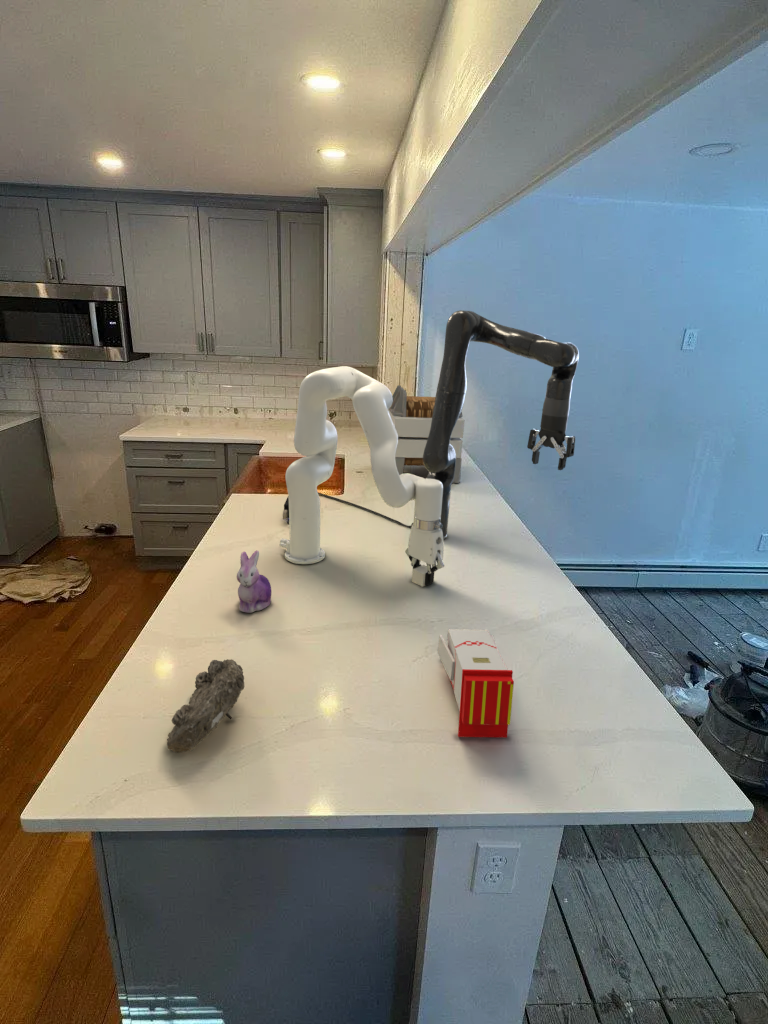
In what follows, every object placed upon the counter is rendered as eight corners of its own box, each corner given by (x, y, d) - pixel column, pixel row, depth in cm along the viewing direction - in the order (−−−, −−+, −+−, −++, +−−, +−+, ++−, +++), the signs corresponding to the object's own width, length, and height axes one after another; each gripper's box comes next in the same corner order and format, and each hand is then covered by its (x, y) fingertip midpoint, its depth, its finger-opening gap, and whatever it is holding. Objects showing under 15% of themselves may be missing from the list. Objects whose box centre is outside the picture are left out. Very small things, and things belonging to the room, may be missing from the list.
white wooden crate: (382, 463, 289) (386, 382, 275) (445, 464, 293) (451, 384, 279) (390, 482, 257) (394, 392, 243) (460, 483, 261) (468, 394, 247)
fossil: (192, 660, 117) (244, 628, 112) (224, 691, 120) (276, 661, 115) (142, 746, 98) (202, 712, 93) (182, 779, 101) (242, 748, 96)
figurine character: (300, 529, 203) (305, 510, 217) (300, 510, 200) (305, 492, 213) (282, 528, 203) (287, 510, 216) (281, 509, 200) (287, 492, 213)
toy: (488, 613, 130) (523, 677, 101) (484, 667, 133) (517, 744, 104) (435, 612, 130) (455, 676, 101) (432, 666, 133) (451, 743, 103)
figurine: (241, 617, 142) (239, 563, 137) (232, 599, 151) (229, 547, 146) (278, 610, 146) (277, 557, 141) (266, 592, 155) (265, 542, 150)
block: (433, 582, 166) (434, 569, 164) (422, 586, 163) (423, 574, 161) (422, 577, 169) (423, 564, 167) (411, 581, 165) (412, 569, 164)
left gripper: (458, 528, 156) (453, 587, 162) (413, 511, 167) (410, 567, 174) (441, 534, 151) (436, 595, 157) (396, 517, 162) (393, 574, 168)
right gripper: (584, 415, 164) (575, 469, 170) (540, 408, 174) (533, 459, 179) (571, 418, 159) (562, 474, 165) (527, 410, 169) (520, 463, 174)
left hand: (422, 580), depth 165 cm, fingers closed on block, 4 cm apart
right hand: (547, 466), depth 172 cm, fingers open, 8 cm apart
